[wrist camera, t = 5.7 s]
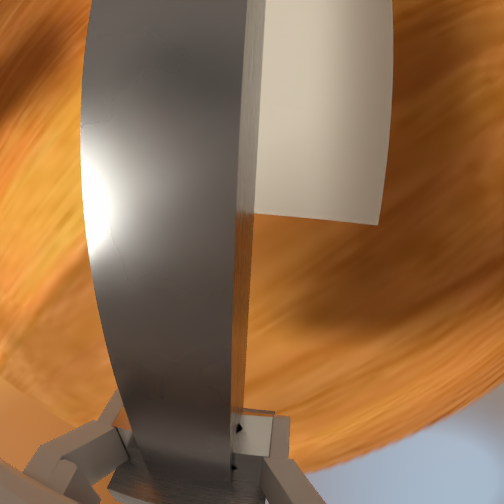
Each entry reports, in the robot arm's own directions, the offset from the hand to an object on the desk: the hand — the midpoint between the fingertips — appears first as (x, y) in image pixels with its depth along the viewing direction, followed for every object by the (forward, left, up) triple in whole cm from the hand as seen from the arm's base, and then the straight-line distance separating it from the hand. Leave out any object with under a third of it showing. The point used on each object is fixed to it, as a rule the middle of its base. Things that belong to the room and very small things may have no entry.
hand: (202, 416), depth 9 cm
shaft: (0, +11, -1) cm, 11 cm away
